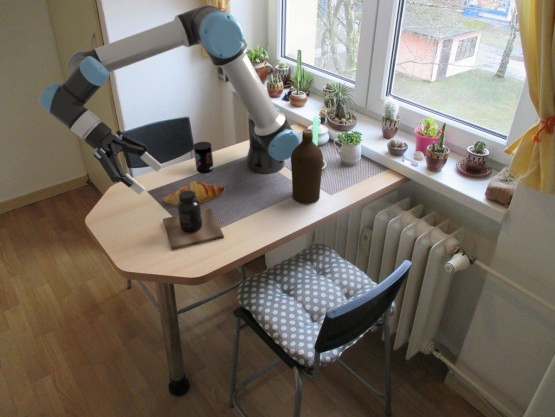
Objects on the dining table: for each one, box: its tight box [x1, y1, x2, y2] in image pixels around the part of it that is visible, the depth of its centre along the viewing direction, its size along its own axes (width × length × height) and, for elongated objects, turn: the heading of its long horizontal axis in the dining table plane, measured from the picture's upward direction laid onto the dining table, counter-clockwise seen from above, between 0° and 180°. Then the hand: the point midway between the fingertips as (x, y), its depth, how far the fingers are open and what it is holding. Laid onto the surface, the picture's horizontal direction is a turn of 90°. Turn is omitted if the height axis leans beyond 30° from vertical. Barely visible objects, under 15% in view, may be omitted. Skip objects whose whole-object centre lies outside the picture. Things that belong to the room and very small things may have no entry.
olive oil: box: [290, 128, 324, 205], centre depth 153 cm, size 11×11×25 cm
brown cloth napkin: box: [162, 208, 225, 251], centre depth 144 cm, size 16×16×1 cm
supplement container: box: [193, 141, 215, 175], centre depth 174 cm, size 7×7×10 cm
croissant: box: [162, 180, 225, 206], centre depth 158 cm, size 21×10×8 cm, turn 109°
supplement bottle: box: [176, 190, 202, 233], centre depth 141 cm, size 7×7×12 cm
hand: (151, 179), depth 136 cm, fingers open, 13 cm apart
